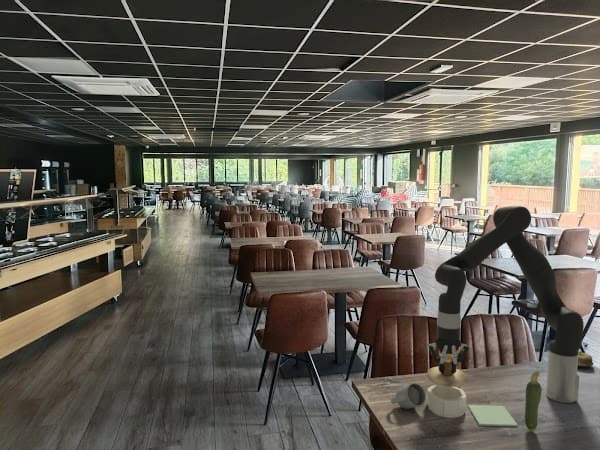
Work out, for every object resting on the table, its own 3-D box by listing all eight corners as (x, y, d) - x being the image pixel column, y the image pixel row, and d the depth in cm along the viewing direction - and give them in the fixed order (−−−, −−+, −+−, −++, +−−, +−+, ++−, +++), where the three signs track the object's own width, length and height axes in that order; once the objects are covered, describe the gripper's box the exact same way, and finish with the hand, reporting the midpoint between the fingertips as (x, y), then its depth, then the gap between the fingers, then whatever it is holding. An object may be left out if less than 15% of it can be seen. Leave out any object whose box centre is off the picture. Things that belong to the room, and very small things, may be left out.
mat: (503, 407, 157) (503, 405, 157) (517, 426, 145) (517, 424, 145) (468, 406, 158) (468, 404, 158) (479, 425, 146) (479, 423, 146)
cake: (598, 368, 188) (599, 355, 188) (573, 367, 189) (574, 355, 188) (584, 358, 198) (585, 346, 198) (561, 358, 199) (562, 346, 198)
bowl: (458, 400, 162) (459, 384, 161) (469, 418, 150) (469, 401, 149) (424, 399, 162) (425, 383, 162) (432, 417, 151) (432, 400, 150)
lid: (461, 370, 161) (461, 354, 160) (472, 387, 148) (473, 370, 147) (423, 369, 162) (424, 353, 161) (432, 386, 149) (432, 369, 148)
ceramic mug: (411, 411, 158) (412, 388, 162) (426, 408, 151) (426, 385, 155) (385, 404, 155) (386, 381, 159) (399, 402, 148) (400, 378, 152)
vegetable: (521, 427, 145) (524, 367, 142) (533, 426, 145) (537, 366, 143) (529, 434, 140) (532, 373, 138) (542, 434, 141) (545, 372, 138)
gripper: (466, 321, 156) (464, 369, 158) (425, 320, 157) (424, 368, 159) (473, 328, 149) (471, 378, 151) (430, 327, 150) (428, 377, 152)
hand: (447, 372), depth 155 cm, fingers closed on lid, 3 cm apart
